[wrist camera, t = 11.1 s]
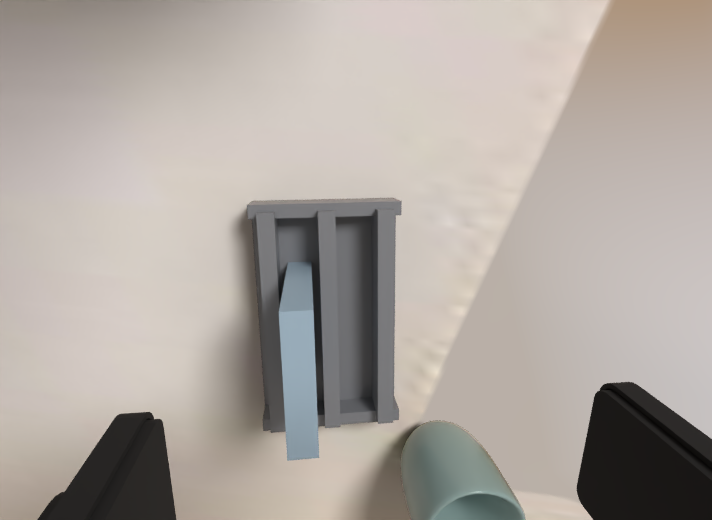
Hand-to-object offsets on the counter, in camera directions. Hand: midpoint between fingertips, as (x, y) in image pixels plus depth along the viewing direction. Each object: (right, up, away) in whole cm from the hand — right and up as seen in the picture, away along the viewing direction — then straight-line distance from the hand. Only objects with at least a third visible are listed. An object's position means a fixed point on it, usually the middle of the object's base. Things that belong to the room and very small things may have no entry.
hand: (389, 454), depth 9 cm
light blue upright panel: (-5, 0, +24) cm, 25 cm away
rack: (-3, 0, +26) cm, 26 cm away
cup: (+7, -13, +30) cm, 33 cm away
